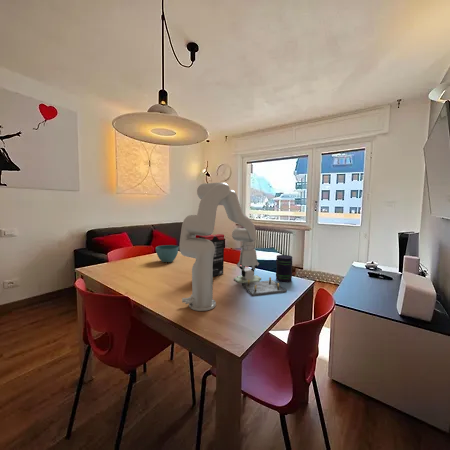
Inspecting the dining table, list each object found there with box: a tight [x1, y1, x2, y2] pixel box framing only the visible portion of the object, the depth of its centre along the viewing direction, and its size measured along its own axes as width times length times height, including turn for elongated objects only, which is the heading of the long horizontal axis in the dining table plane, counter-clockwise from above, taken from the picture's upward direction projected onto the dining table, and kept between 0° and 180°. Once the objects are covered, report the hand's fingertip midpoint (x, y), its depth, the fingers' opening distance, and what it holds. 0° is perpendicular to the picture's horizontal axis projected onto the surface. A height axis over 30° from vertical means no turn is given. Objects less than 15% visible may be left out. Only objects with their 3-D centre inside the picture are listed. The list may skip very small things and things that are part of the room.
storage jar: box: [275, 254, 293, 283], centre depth 143 cm, size 10×10×15 cm
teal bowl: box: [155, 244, 180, 263], centre depth 186 cm, size 18×18×12 cm
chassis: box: [241, 276, 287, 297], centre depth 129 cm, size 20×16×4 cm
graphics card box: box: [198, 233, 225, 277], centre depth 150 cm, size 17×7×27 cm, turn 135°
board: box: [233, 268, 262, 284], centre depth 143 cm, size 16×12×6 cm
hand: (247, 275), depth 143 cm, fingers closed on board, 5 cm apart
